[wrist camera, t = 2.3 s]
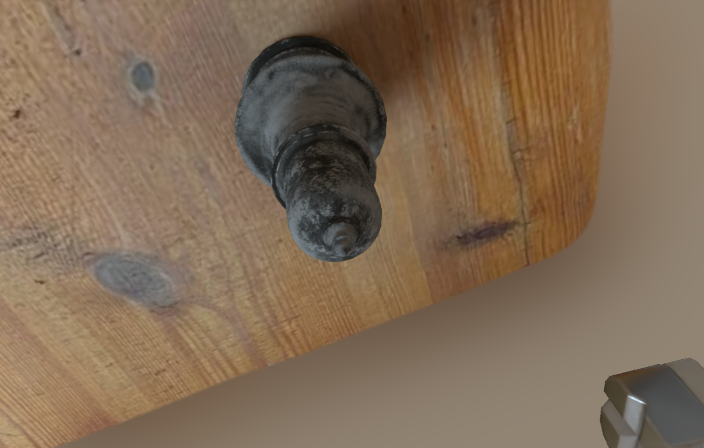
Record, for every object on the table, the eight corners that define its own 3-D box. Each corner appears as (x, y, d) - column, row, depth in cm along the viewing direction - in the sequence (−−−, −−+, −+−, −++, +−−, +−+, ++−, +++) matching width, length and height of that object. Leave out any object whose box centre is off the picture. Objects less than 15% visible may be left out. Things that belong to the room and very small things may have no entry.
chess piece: (363, 18, 25) (449, 135, 15) (375, 147, 28) (452, 315, 18) (221, 40, 24) (209, 176, 14) (249, 168, 28) (257, 354, 17)
